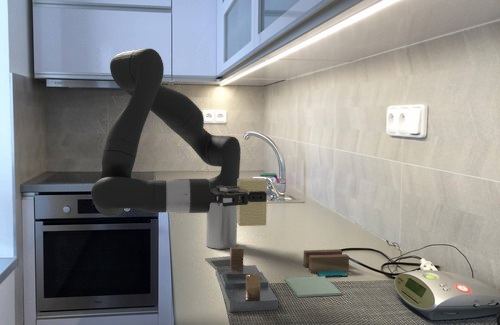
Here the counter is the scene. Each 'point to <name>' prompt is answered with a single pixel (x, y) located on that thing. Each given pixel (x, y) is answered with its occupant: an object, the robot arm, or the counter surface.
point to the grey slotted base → (244, 285)
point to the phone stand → (326, 260)
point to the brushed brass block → (252, 203)
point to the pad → (312, 286)
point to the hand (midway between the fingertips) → (263, 195)
